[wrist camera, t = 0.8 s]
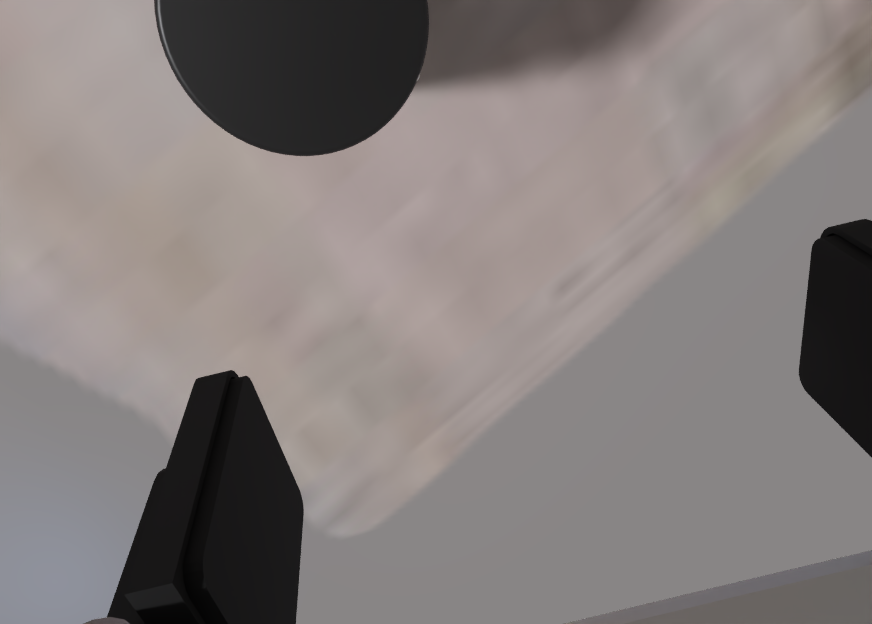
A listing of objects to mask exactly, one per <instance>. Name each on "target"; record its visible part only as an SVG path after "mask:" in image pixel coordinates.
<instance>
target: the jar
mask: <svg viewBox="0 0 872 624" xmlns="http://www.w3.org/2000/svg"><path fill="white" fill-rule="evenodd" d="M154 4H155V15H156V22H157V28H158V32H159V36H160V40H161V43H162V46H163V49H164V52H165V55H166V57H167V59H168V62H169V64H170V66H171V68H172V70H173V72H174V74H175V76H176V78H177V79H178V81H179V83H180V84H181V86H182V87H183V89H184V90H185V92H186V93H187V94H188V95H189V97H190V98H191V99H192V101H193V102H194V103H195V104H196V105H197V106H198V107H199V108H200V109H201V111H202V112H203V113H204V114H205V115H207V116H208V117H209V118H210V119H211V120H212V121H213V122H214V123H216V124H217V125H218V126H220V127H221V128H222V129H224V130H225V131H227V132H228V133H230V134H231V135H233V136H235V137H236V138H238V139H240V140H242V141H244V142H246V143H248V144H250V145H253V146H255V147H258V148H260V149H264V150H267V151H270V152H275V153H279V154H285V155H294V156H314V155H323V154H329V153H333V152H337V151H340V150H344V149H346V148H349V147H351V146H354V145H356V144H358V143H360V142H362V141H364V140H366V139H367V138H369V137H370V136H372V135H373V134H375V133H376V132H378V131H379V130H380V129H381V128H382V127H384V126H385V125H386V124H387V123H388V122H389V121H390V120H391V119H392V118H393V117H394V116H395V115H396V114H397V112H398V111H399V110H400V109H401V107H402V106H403V105H404V103H405V102H406V100H407V99H408V97H409V95H410V94H411V92H412V90H413V88H414V86H415V84H416V82H417V81H418V80H419V78H420V72H421V69H422V66H423V62H424V58H425V54H426V48H427V42H428V30H429V14H428V3H427V0H154Z"/></svg>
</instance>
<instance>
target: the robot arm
mask: <svg viewBox="0 0 872 624" xmlns="http://www.w3.org/2000/svg"><path fill="white" fill-rule="evenodd" d="M799 376H800V381H801V383H802V385H803V387H804V389H805V391H806V392H807V393H808V394H809V395H810V396H811V397H812V398H813V399H814V400H815V401H816V402H817V403H818V404H819V405H820V406H821V407H822V408H823V409H824V410H825V411H826V412H827V413H828V414H829V415H830V416H831V417H832V418H833V419H834V420H835V421H836V422H837V423H838V424H839V425H840V426H841V427H842V428H843V429H844V430H845V431H846V432H847V433H848V434H849V435H850V436H851V437H852V438H853V439H854V440H855V441H856V442H857V443H858V444H859V445H860V446H861V447H862V448H863V449H864V450H865V451H866V452H867V453H868V454H869V455H870V456H871V457H872V221H870V220H867V219H862V220H858V221H853V222H849V223H845V224H841V225H836V226H832V227H828V228H827V229H825V230H824V231H823V233H822V235H821V238H820V239H817V240H816V241H815V242H814V244H813V246H812V252H811V261H810V271H809V280H808V290H807V299H806V309H805V318H804V328H803V337H802V346H801V356H800V365H799ZM302 527H303V501H302V497H301V493H300V490H299V488H298V485H297V483H296V481H295V479H294V476H293V474H292V472H291V470H290V467H289V465H288V463H287V461H286V458H285V456H284V454H283V451H282V449H281V447H280V445H279V442H278V440H277V438H276V436H275V433H274V431H273V429H272V427H271V424H270V422H269V420H268V417H267V415H266V413H265V411H264V408H263V406H262V404H261V402H260V399H259V397H258V395H257V393H256V390H255V388H254V386H253V383H252V382H251V380H250V378H249V377H248V376H243V377H238V375H237V374H236V373H235V372H234V371H232V370H230V371H226V372H222V373H217V374H213V375H209V376H205V377H201V378H198V379H196V381H195V383H194V386H193V389H192V392H191V395H190V398H189V401H188V404H187V407H186V410H185V413H184V416H183V419H182V422H181V425H180V428H179V431H178V434H177V437H176V440H175V443H174V446H173V449H172V452H171V455H170V458H169V461H168V464H167V467H166V469H163V470H162V471H160V472H159V473H158V474H157V476H156V478H155V481H154V483H153V486H152V489H151V491H150V495H149V497H148V500H147V503H146V506H145V509H144V512H143V515H142V518H141V520H140V523H139V526H138V529H137V532H136V535H135V538H134V541H133V543H132V546H131V550H130V552H129V555H128V558H127V561H126V564H125V567H124V570H123V572H122V575H121V578H120V581H119V584H118V587H117V590H116V593H115V595H114V599H113V601H112V604H111V607H110V610H109V613H108V616H107V618H101V619H95V620H91V621H89V622H86V623H84V624H296V612H297V611H296V610H297V597H298V584H299V570H300V555H301V541H302ZM565 624H872V550H871V551H867V552H862V553H859V554H854V555H850V556H846V557H841V558H837V559H832V560H828V561H824V562H820V563H816V564H811V565H807V566H803V567H799V568H795V569H790V570H786V571H782V572H778V573H774V574H769V575H765V576H761V577H757V578H752V579H749V580H744V581H740V582H736V583H732V584H728V585H723V586H719V587H715V588H710V589H706V590H702V591H698V592H694V593H690V594H685V595H681V596H677V597H673V598H669V599H665V600H660V601H656V602H652V603H648V604H644V605H639V606H635V607H631V608H627V609H623V610H619V611H614V612H610V613H606V614H602V615H598V616H594V617H590V618H586V619H582V620H578V621H573V622H570V623H565Z"/></svg>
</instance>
